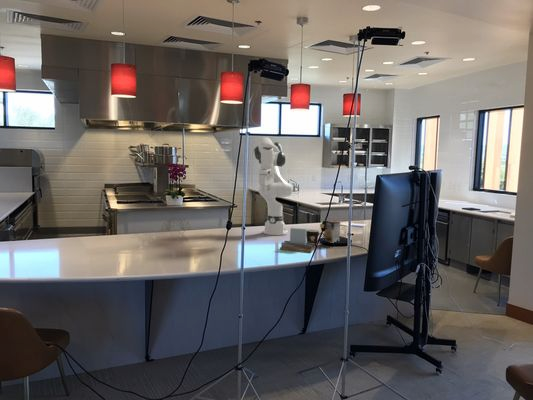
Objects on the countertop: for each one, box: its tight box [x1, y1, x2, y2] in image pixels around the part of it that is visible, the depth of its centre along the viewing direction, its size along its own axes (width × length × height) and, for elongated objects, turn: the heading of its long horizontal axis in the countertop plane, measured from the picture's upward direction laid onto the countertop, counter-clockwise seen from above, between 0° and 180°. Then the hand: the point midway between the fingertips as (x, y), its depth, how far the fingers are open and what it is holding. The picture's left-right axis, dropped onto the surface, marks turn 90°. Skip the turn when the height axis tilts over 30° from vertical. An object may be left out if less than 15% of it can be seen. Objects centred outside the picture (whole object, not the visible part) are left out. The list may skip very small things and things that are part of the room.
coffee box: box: [323, 219, 341, 243], centre depth 312 cm, size 9×6×16 cm
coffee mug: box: [306, 229, 324, 246], centre depth 307 cm, size 12×9×10 cm
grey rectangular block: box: [289, 227, 308, 245], centre depth 294 cm, size 3×10×12 cm, turn 71°
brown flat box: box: [279, 240, 316, 254], centre depth 295 cm, size 14×20×4 cm
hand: (266, 191), depth 309 cm, fingers open, 8 cm apart
